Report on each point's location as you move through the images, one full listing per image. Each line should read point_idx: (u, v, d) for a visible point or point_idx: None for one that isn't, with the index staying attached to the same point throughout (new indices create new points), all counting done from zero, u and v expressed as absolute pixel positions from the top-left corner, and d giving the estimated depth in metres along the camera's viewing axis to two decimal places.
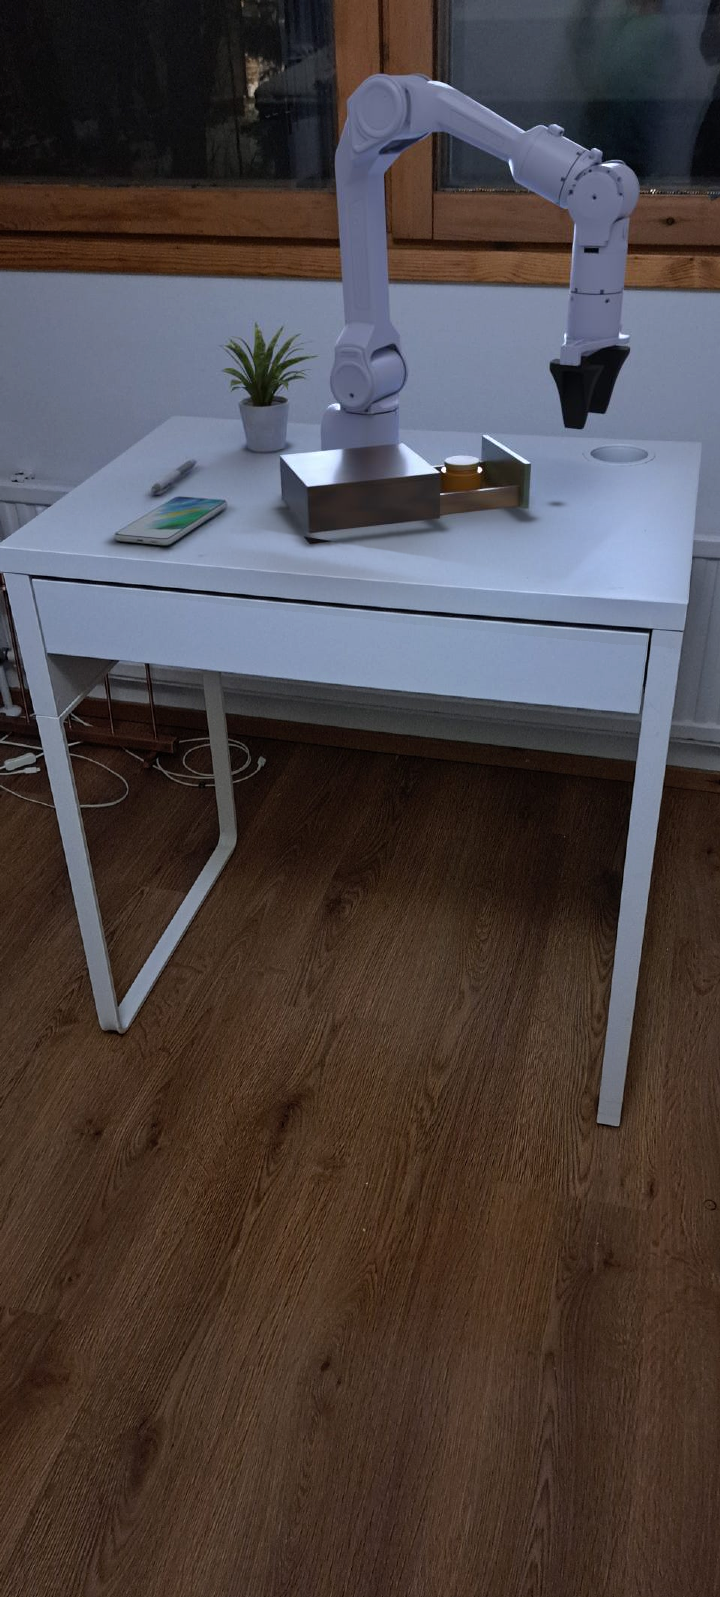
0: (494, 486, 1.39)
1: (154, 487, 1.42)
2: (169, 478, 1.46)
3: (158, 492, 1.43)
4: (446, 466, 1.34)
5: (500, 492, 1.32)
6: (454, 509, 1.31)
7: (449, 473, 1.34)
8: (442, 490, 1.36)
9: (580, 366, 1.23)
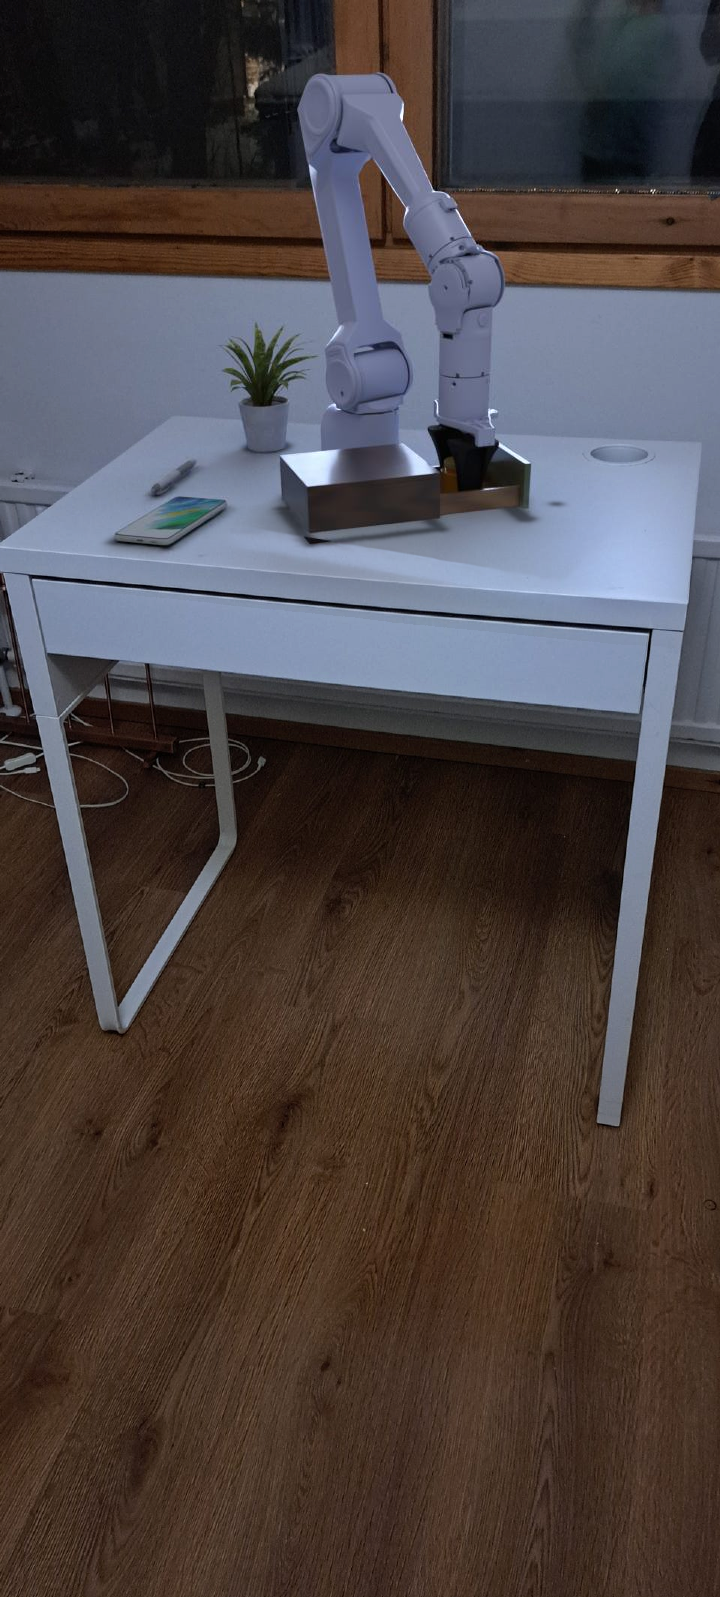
0: (494, 486, 1.39)
1: (154, 487, 1.42)
2: (169, 478, 1.46)
3: (158, 492, 1.43)
4: (446, 466, 1.34)
5: (500, 492, 1.32)
6: (454, 509, 1.31)
7: (449, 473, 1.34)
8: (442, 490, 1.36)
9: None
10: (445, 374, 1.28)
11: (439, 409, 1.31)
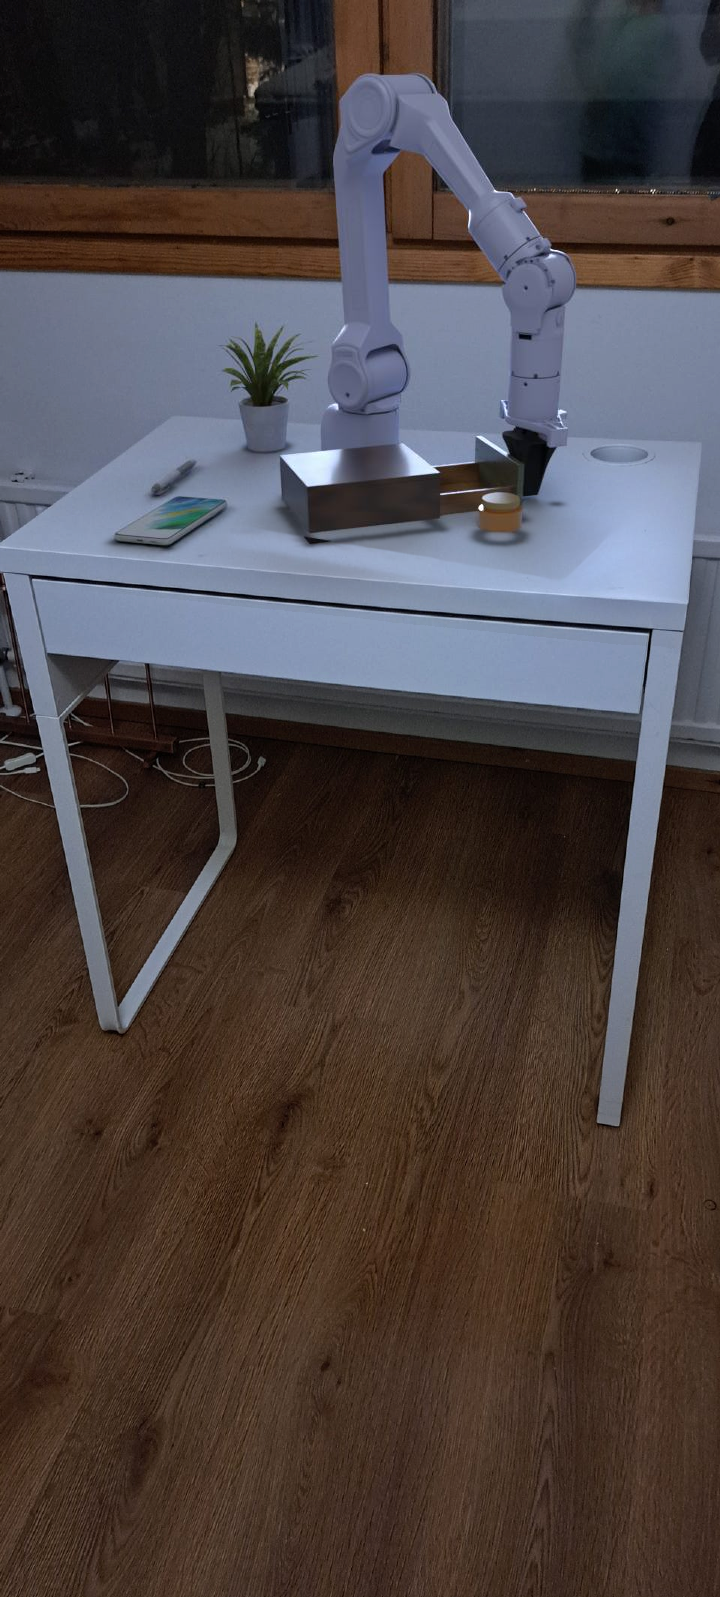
0: (488, 487, 1.39)
1: (154, 487, 1.42)
2: (169, 478, 1.46)
3: (158, 492, 1.43)
4: (484, 504, 1.26)
5: None
6: (447, 510, 1.31)
7: (487, 512, 1.25)
8: None
9: None
10: (521, 375, 1.27)
11: (509, 409, 1.30)
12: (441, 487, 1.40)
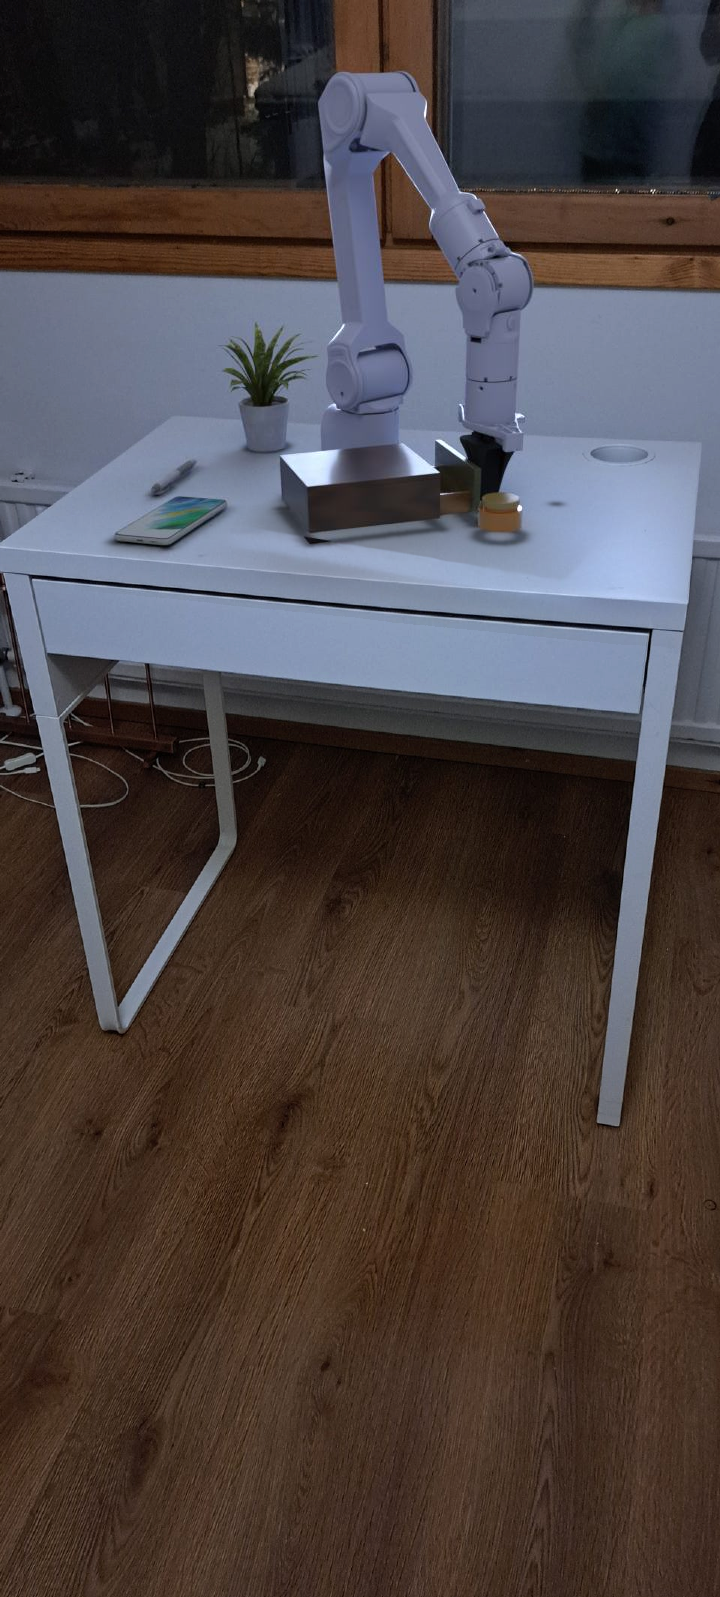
0: (447, 491, 1.38)
1: (154, 487, 1.42)
2: (169, 478, 1.46)
3: (158, 492, 1.43)
4: (484, 504, 1.26)
5: (450, 497, 1.30)
6: None
7: (487, 512, 1.25)
8: None
9: None
10: (473, 378, 1.26)
11: (465, 414, 1.29)
12: None
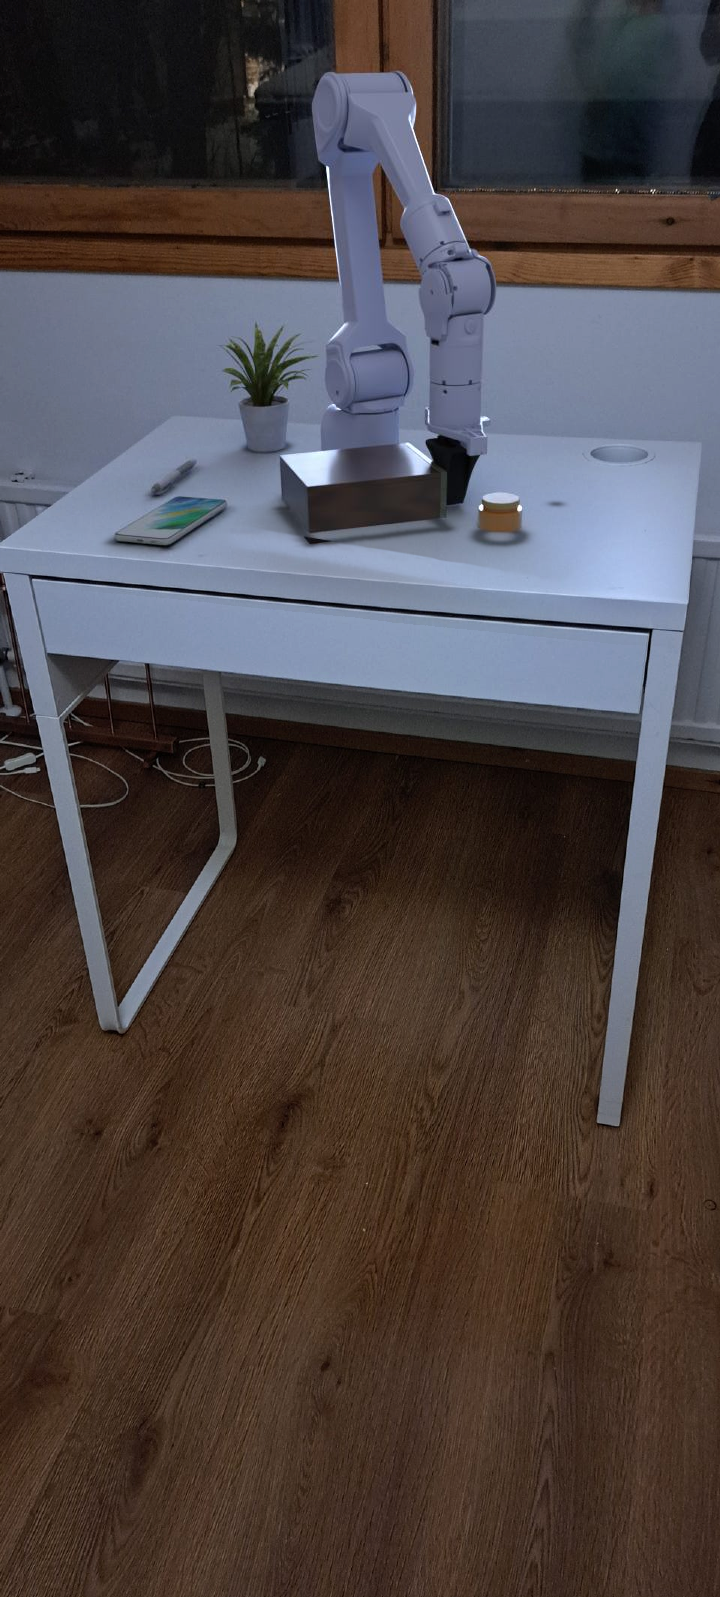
0: None
1: (154, 487, 1.42)
2: (169, 478, 1.46)
3: (158, 492, 1.43)
4: (484, 504, 1.26)
5: None
6: None
7: (487, 512, 1.25)
8: None
9: None
10: (433, 381, 1.25)
11: (430, 417, 1.28)
12: None
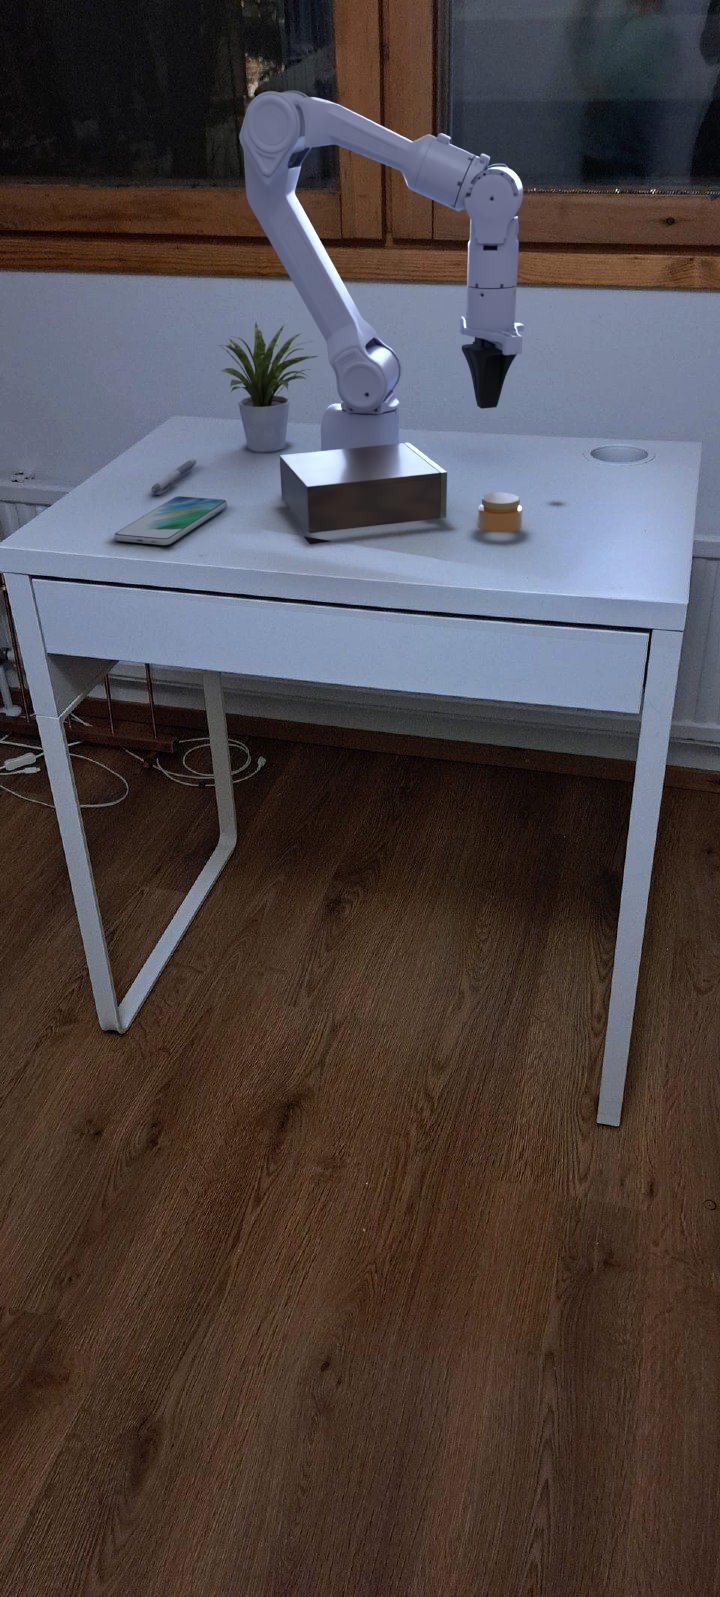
0: None
1: (154, 487, 1.42)
2: (169, 478, 1.46)
3: (158, 492, 1.43)
4: (484, 504, 1.26)
5: None
6: None
7: (487, 512, 1.25)
8: None
9: None
10: (487, 286, 1.31)
11: (467, 321, 1.35)
12: None
